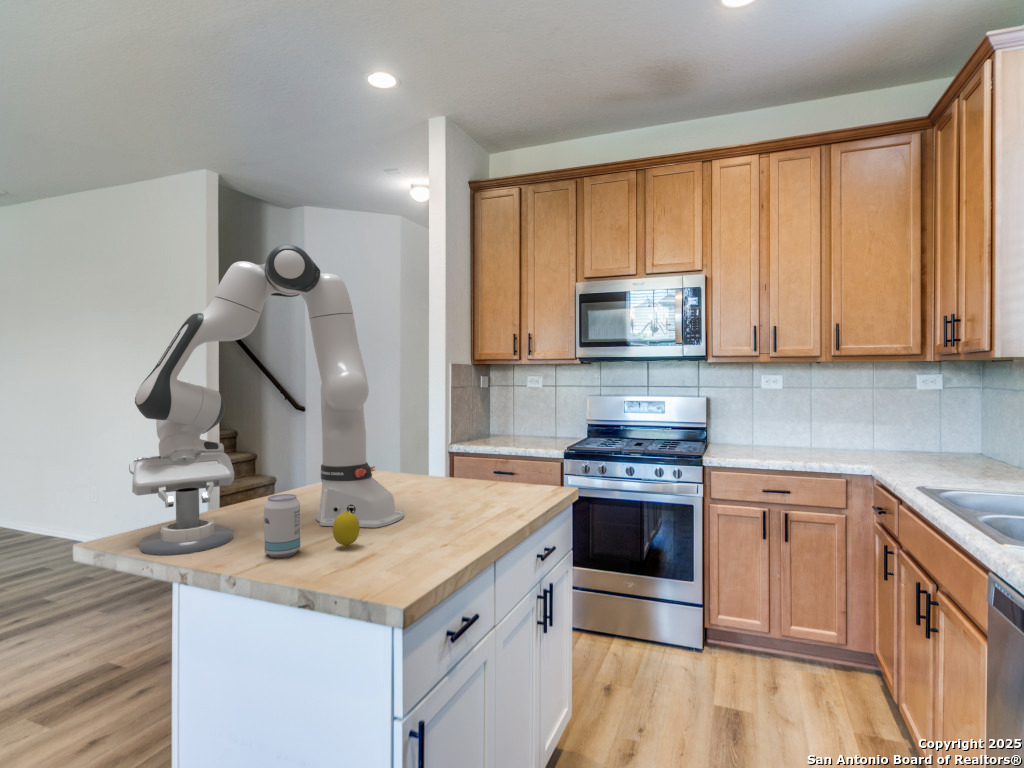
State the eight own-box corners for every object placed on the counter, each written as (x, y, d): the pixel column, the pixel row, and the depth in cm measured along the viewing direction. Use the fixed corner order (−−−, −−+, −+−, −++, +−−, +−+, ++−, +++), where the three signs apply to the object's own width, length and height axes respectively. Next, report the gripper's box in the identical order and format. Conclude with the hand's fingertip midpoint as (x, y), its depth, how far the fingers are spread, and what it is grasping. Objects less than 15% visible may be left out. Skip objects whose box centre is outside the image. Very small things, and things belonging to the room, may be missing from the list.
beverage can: (264, 551, 119) (264, 495, 119) (299, 547, 122) (299, 492, 122) (264, 561, 113) (264, 501, 113) (301, 556, 116) (300, 498, 115)
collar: (250, 535, 131) (250, 518, 131) (183, 558, 114) (183, 539, 114) (192, 528, 137) (192, 512, 137) (119, 550, 120) (119, 531, 120)
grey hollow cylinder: (175, 534, 127) (174, 489, 127) (198, 531, 129) (197, 486, 129) (177, 539, 123) (176, 492, 123) (200, 535, 126) (200, 489, 125)
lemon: (352, 552, 119) (351, 514, 118) (328, 550, 120) (327, 513, 120) (364, 544, 124) (363, 508, 124) (341, 543, 125) (340, 507, 125)
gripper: (129, 450, 125) (132, 501, 117) (230, 443, 137) (239, 489, 130) (127, 467, 128) (131, 518, 121) (226, 459, 141) (235, 505, 133)
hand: (188, 503), depth 125 cm, fingers open, 6 cm apart
